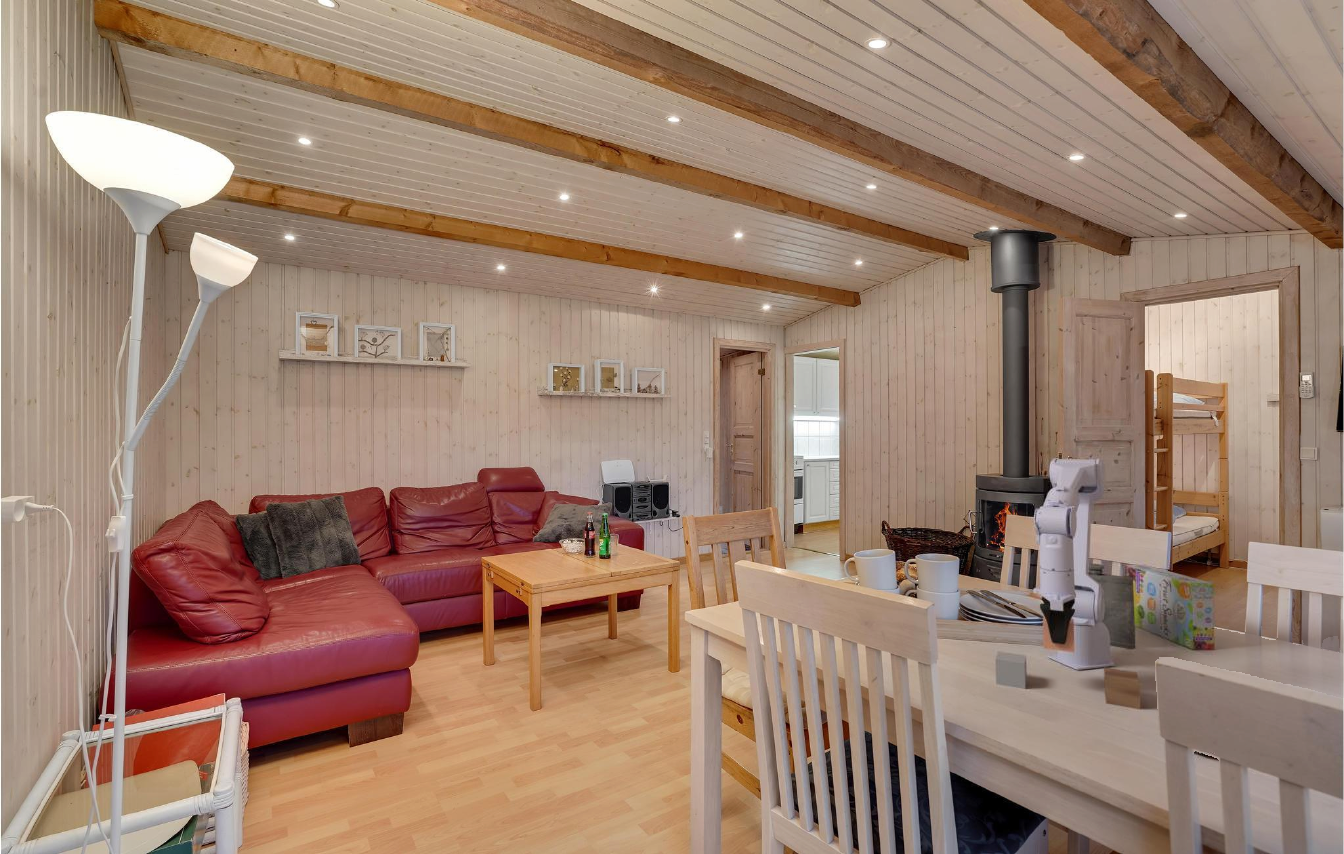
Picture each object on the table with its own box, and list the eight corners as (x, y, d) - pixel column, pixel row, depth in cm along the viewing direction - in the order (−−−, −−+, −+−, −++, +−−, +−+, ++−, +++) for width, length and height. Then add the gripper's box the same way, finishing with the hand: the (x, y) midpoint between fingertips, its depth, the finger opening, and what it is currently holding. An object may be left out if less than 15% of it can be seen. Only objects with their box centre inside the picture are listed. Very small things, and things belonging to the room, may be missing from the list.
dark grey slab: (1131, 650, 139) (1128, 570, 139) (1061, 634, 150) (1059, 560, 151) (1137, 647, 141) (1134, 567, 141) (1067, 631, 152) (1065, 558, 153)
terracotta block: (1044, 640, 123) (1043, 615, 123) (1074, 644, 121) (1073, 618, 121) (1043, 647, 119) (1042, 621, 119) (1074, 652, 116) (1073, 625, 117)
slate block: (998, 675, 126) (997, 651, 127) (1026, 680, 124) (1026, 655, 124) (996, 684, 122) (995, 658, 122) (1025, 689, 120) (1024, 663, 120)
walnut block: (1105, 693, 117) (1104, 667, 117) (1138, 699, 114) (1137, 672, 114) (1106, 703, 113) (1105, 676, 113) (1140, 709, 110) (1139, 681, 110)
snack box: (1217, 650, 138) (1215, 582, 138) (1192, 650, 138) (1190, 583, 138) (1146, 621, 159) (1144, 563, 159) (1124, 622, 159) (1122, 563, 160)
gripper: (1034, 559, 128) (1036, 625, 128) (1030, 573, 116) (1032, 646, 116) (1075, 563, 125) (1077, 630, 124) (1075, 577, 112) (1077, 652, 112)
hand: (1058, 638), depth 120 cm, fingers closed on terracotta block, 5 cm apart
